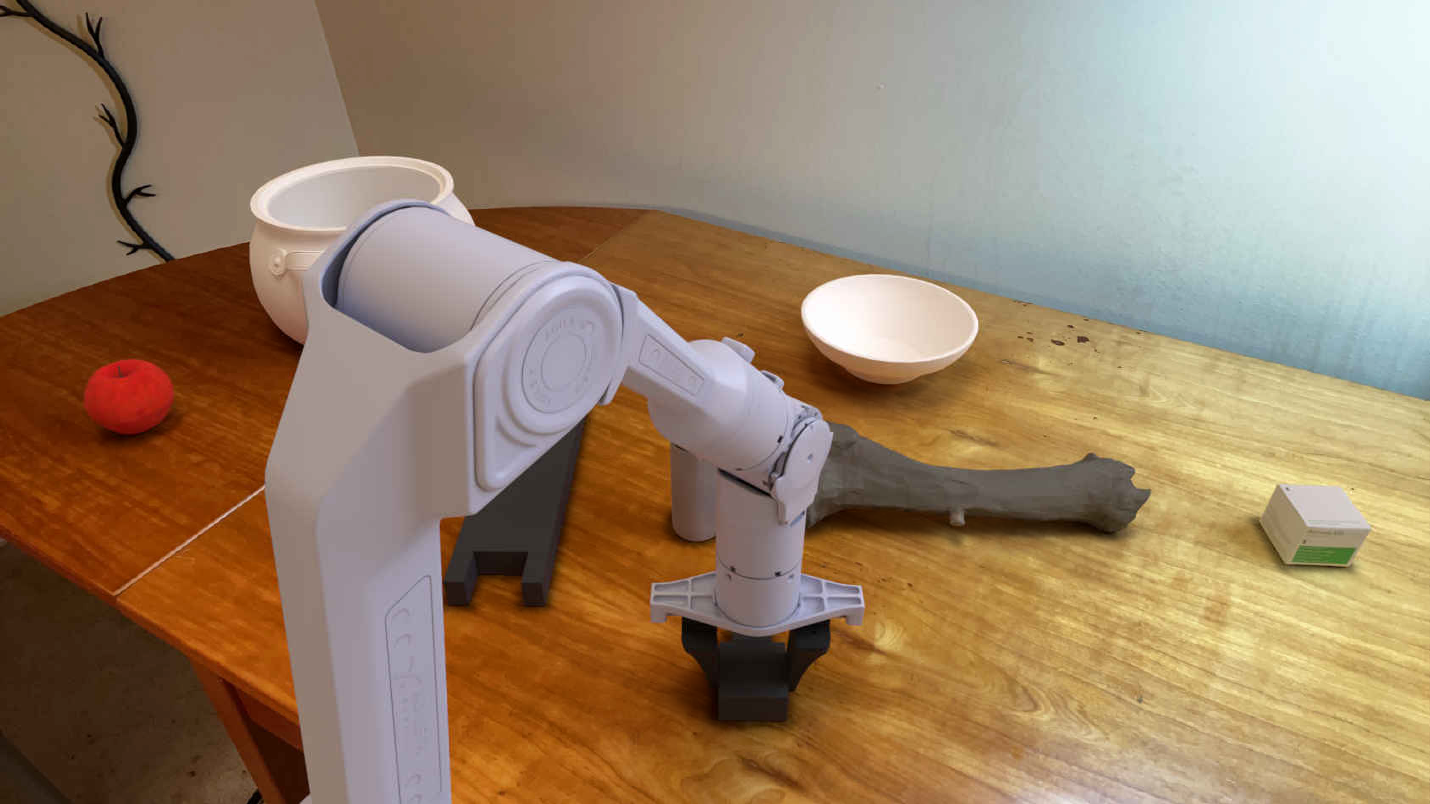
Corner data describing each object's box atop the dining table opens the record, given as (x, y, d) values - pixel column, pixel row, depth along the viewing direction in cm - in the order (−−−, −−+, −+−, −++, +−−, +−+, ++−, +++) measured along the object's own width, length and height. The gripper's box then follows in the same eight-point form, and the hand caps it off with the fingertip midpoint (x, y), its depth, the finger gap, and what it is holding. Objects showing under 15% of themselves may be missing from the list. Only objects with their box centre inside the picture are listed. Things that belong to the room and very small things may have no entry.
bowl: (957, 431, 95) (968, 376, 91) (777, 395, 100) (780, 342, 96) (976, 339, 110) (986, 288, 106) (819, 312, 115) (823, 263, 111)
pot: (325, 257, 127) (294, 144, 117) (513, 262, 126) (497, 148, 117) (223, 373, 103) (175, 242, 93) (455, 380, 102) (429, 248, 93)
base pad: (545, 606, 75) (541, 582, 73) (448, 605, 75) (442, 581, 73) (600, 349, 107) (598, 329, 106) (532, 348, 108) (530, 328, 106)
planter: (731, 519, 84) (733, 430, 78) (704, 549, 80) (704, 458, 74) (690, 502, 85) (688, 413, 80) (662, 530, 82) (659, 440, 76)
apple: (149, 455, 91) (121, 394, 86) (80, 444, 92) (50, 384, 88) (201, 409, 97) (178, 350, 93) (136, 400, 98) (110, 342, 94)
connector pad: (786, 721, 66) (788, 697, 64) (718, 721, 66) (718, 696, 64) (781, 635, 73) (783, 611, 71) (718, 634, 73) (719, 610, 71)
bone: (781, 540, 81) (786, 460, 76) (780, 472, 89) (785, 395, 84) (1149, 555, 80) (1180, 474, 75) (1115, 484, 88) (1141, 407, 83)
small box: (1284, 566, 79) (1306, 525, 76) (1256, 521, 84) (1275, 481, 81) (1351, 569, 79) (1375, 528, 76) (1319, 524, 84) (1341, 483, 81)
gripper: (862, 508, 63) (844, 639, 70) (652, 505, 63) (658, 636, 71) (876, 583, 57) (855, 717, 65) (645, 580, 57) (652, 714, 65)
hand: (752, 680), depth 67 cm, fingers closed on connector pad, 5 cm apart
